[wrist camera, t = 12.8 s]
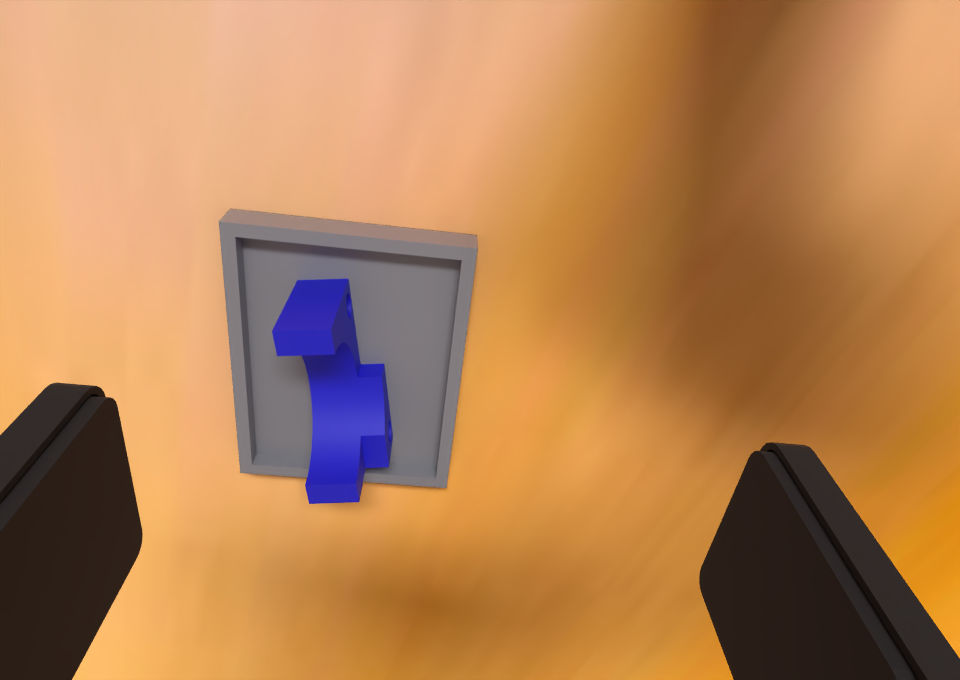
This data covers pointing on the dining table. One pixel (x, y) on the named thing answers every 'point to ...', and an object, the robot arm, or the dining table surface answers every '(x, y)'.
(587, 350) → the dining table surface
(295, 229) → the shallow rectangular tray
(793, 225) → the dining table surface
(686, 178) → the dining table surface
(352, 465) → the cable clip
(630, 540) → the dining table surface
